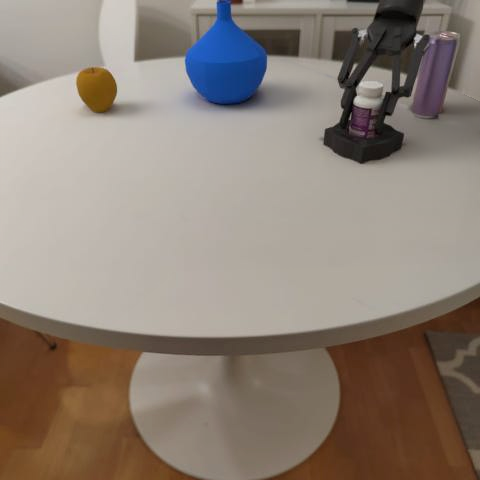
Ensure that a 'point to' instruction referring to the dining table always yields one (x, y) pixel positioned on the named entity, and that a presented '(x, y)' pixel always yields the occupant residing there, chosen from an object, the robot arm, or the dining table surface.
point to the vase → (226, 61)
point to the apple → (96, 88)
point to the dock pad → (363, 143)
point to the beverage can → (435, 74)
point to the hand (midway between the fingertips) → (359, 128)
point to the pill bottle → (366, 109)
